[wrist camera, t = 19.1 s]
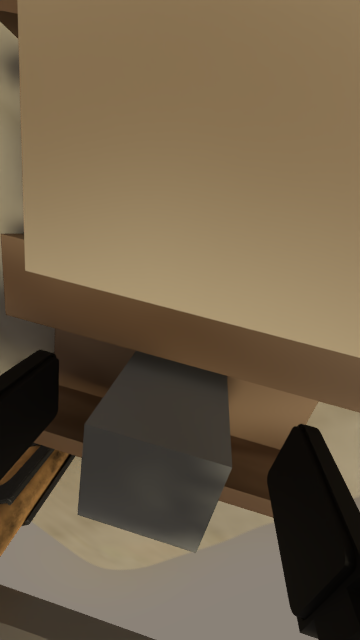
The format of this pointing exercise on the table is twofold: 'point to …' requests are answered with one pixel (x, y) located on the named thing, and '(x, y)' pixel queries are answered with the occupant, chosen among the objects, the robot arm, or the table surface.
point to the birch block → (198, 157)
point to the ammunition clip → (28, 488)
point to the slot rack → (180, 346)
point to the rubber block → (157, 451)
